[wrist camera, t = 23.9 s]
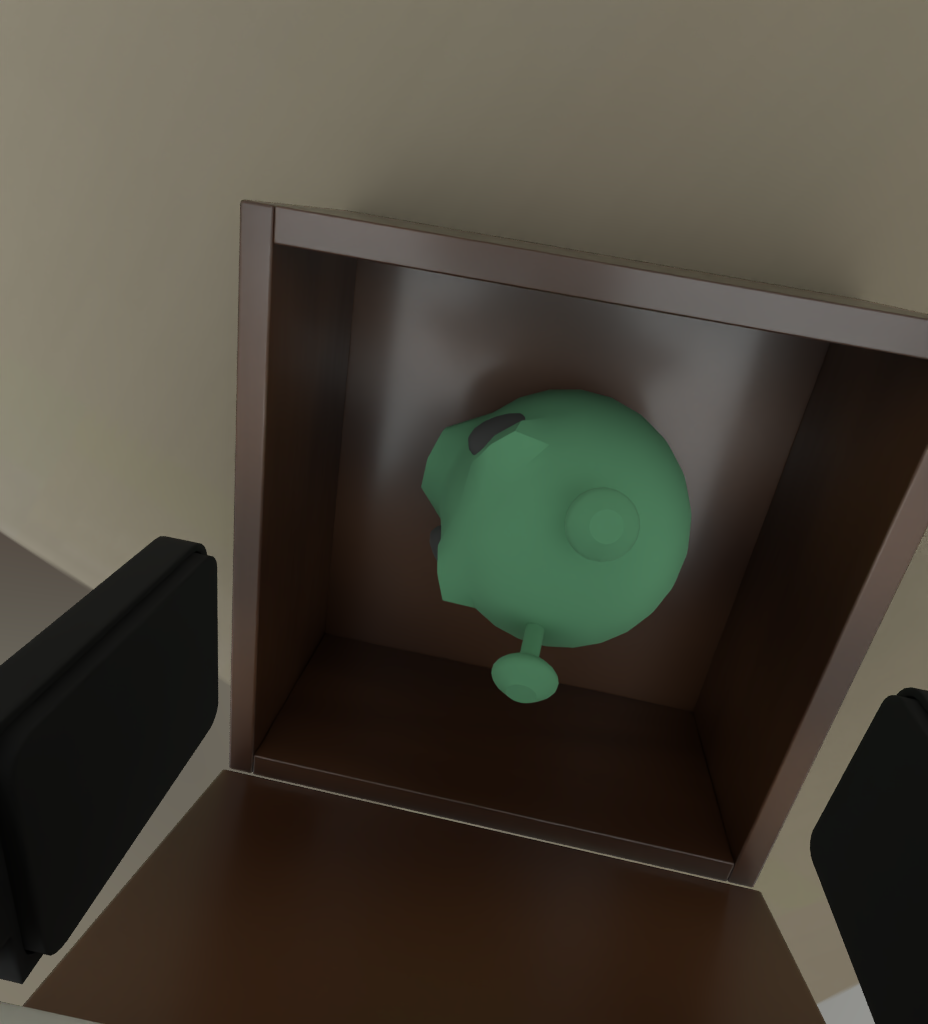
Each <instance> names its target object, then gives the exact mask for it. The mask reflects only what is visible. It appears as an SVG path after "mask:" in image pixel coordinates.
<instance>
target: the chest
mask: <svg viewBox="0 0 928 1024" xmlns="http://www.w3.org/2000/svg"><path fill="white" fill-rule="evenodd" d="M546 390H585V391H589V392H592V393H596V394H600V395H604V396H607V397H611V398H613V399H615V400H616V401H618V402H620V403H622V404H623V405H625V406H627V407H629V408H630V409H632V410H634V411H635V412H637V413H639V414H641V415H642V416H643V417H644V418H645V419H646V420H647V421H648V422H649V423H650V424H651V425H652V426H653V427H654V428H655V429H656V430H657V431H658V432H659V433H660V434H661V436H662V437H663V438H664V439H665V440H666V441H667V443H668V444H669V446H670V448H671V450H672V452H673V454H674V456H675V458H676V460H677V462H678V463H679V465H680V467H681V469H682V471H683V474H684V477H685V481H686V486H687V491H688V496H689V502H690V507H691V526H690V535H689V544H688V551H687V555H686V558H685V560H684V562H683V565H682V567H681V570H680V572H679V574H678V577H677V579H676V581H675V584H674V585H673V587H672V589H671V590H670V592H669V593H668V594H667V595H666V597H665V598H664V599H663V600H662V602H661V603H660V604H659V605H658V607H657V608H656V609H655V610H654V612H652V613H651V614H650V615H649V616H648V617H647V618H645V619H644V620H642V621H641V622H640V623H638V624H637V625H636V626H634V627H633V628H632V629H630V630H629V631H628V632H626V633H624V634H621V635H619V636H616V637H614V638H612V639H609V640H607V641H605V642H602V643H598V644H592V645H586V646H580V647H575V648H570V647H550V646H543V645H541V650H540V655H539V658H541V659H543V660H545V661H546V662H547V663H548V664H549V665H550V666H552V667H553V669H554V671H555V672H556V674H557V676H558V682H559V684H558V687H557V689H556V692H555V693H554V694H553V695H551V696H550V697H549V698H547V699H544V700H541V701H538V702H533V703H520V702H517V701H514V700H512V699H511V698H509V697H508V696H507V695H505V694H504V693H503V692H502V691H501V690H500V689H499V688H498V687H497V686H496V684H495V683H494V681H493V678H492V674H491V672H492V667H493V664H494V663H495V662H496V661H497V660H498V659H499V658H501V657H502V656H505V655H507V654H511V653H519V652H520V651H521V646H522V642H523V640H521V639H518V638H516V637H515V636H513V635H511V634H509V633H507V632H505V631H504V630H502V629H500V628H498V627H496V626H495V625H493V624H492V623H491V622H490V621H489V620H488V619H487V618H486V617H485V616H483V615H482V614H481V613H480V612H479V611H478V610H477V609H476V608H473V607H469V606H464V605H460V604H456V603H452V602H448V601H444V600H442V595H441V590H440V585H439V580H438V574H437V560H436V558H435V556H434V554H433V552H432V549H431V546H430V542H429V540H430V533H431V531H432V530H433V529H434V528H436V527H437V526H440V525H441V519H440V517H439V515H438V514H437V512H436V511H435V509H434V507H433V506H432V504H431V502H430V501H429V499H428V498H427V496H426V494H425V493H424V491H423V489H422V488H421V485H422V481H423V476H424V472H425V467H426V463H427V459H428V457H429V455H430V453H431V451H432V449H433V448H434V446H435V444H436V442H437V440H438V438H439V437H440V435H441V433H442V431H443V430H444V429H445V428H446V427H449V426H452V425H455V424H458V423H461V422H464V421H468V420H471V419H474V418H477V417H480V416H483V415H487V414H490V413H493V412H495V411H497V410H498V409H500V408H502V407H504V406H505V405H507V404H509V403H511V402H512V401H514V400H516V399H518V398H520V397H523V396H527V395H531V394H535V393H538V392H542V391H546ZM927 526H928V314H924V313H920V312H915V311H911V310H906V309H902V308H897V307H893V306H888V305H884V304H879V303H875V302H869V301H865V300H861V299H855V298H849V297H843V296H838V295H832V294H826V293H820V292H814V291H809V290H803V289H797V288H791V287H786V286H780V285H774V284H768V283H762V282H757V281H751V280H745V279H739V278H734V277H728V276H722V275H716V274H710V273H705V272H699V271H693V270H687V269H682V268H676V267H670V266H664V265H658V264H653V263H647V262H641V261H635V260H630V259H624V258H618V257H612V256H606V255H601V254H595V253H589V252H583V251H578V250H572V249H566V248H560V247H554V246H549V245H543V244H537V243H531V242H526V241H520V240H514V239H508V238H502V237H497V236H491V235H485V234H479V233H474V232H468V231H462V230H456V229H450V228H445V227H439V226H433V225H427V224H422V223H416V222H410V221H404V220H398V219H393V218H387V217H381V216H375V215H369V214H364V213H358V212H352V211H346V210H337V209H328V208H318V207H309V206H299V205H290V204H281V203H271V202H262V201H252V200H242V201H241V203H240V251H239V301H238V351H237V401H236V452H235V502H234V552H233V603H232V653H231V704H230V753H229V754H230V755H229V767H230V768H231V769H235V770H240V771H244V772H248V773H252V772H253V774H256V775H261V776H264V777H269V778H273V779H278V780H282V781H287V782H291V783H295V784H300V785H304V786H308V787H313V788H318V789H322V790H326V791H330V792H335V793H339V794H344V795H348V796H353V797H357V798H361V799H366V800H371V801H374V802H379V803H384V804H388V805H392V806H396V807H401V808H405V809H410V810H414V811H418V812H423V813H427V814H432V815H436V816H440V817H445V818H449V819H454V820H458V821H462V822H467V823H471V824H476V825H480V826H484V827H489V828H493V829H498V830H502V831H506V832H511V833H515V834H520V835H524V836H528V837H533V838H537V839H542V840H546V841H550V842H555V843H559V844H564V845H568V846H572V847H577V848H581V849H586V850H590V851H594V852H599V853H603V854H608V855H612V856H616V857H621V858H625V859H630V860H634V861H638V862H643V863H647V864H652V865H656V866H660V867H665V868H669V869H674V870H678V871H682V872H687V873H691V874H696V875H700V876H704V877H709V878H713V879H718V880H722V881H727V880H728V882H731V883H735V884H740V885H744V886H749V887H754V885H755V882H756V880H757V878H758V876H759V874H760V872H761V870H762V868H763V866H764V864H765V862H766V860H767V858H768V856H769V853H770V851H771V849H772V847H773V845H774V843H775V841H776V839H777V837H778V835H779V833H780V831H781V829H782V827H783V824H784V822H785V820H786V818H787V816H788V814H789V812H790V810H791V808H792V806H793V804H794V802H795V800H796V798H797V795H798V793H799V791H800V789H801V787H802V785H803V783H804V781H805V779H806V777H807V775H808V773H809V771H810V769H811V766H812V764H813V762H814V760H815V758H816V756H817V754H818V752H819V750H820V748H821V746H822V744H823V742H824V740H825V737H826V735H827V733H828V731H829V729H830V727H831V725H832V723H833V721H834V719H835V717H836V715H837V713H838V711H839V708H840V706H841V704H842V702H843V700H844V698H845V696H846V694H847V692H848V690H849V688H850V686H851V684H852V682H853V679H854V677H855V675H856V673H857V671H858V669H859V667H860V665H861V663H862V661H863V659H864V657H865V655H866V653H867V650H868V648H869V646H870V644H871V642H872V640H873V638H874V636H875V634H876V632H877V630H878V628H879V626H880V624H881V621H882V619H883V617H884V615H885V613H886V611H887V609H888V607H889V605H890V603H891V601H892V599H893V597H894V595H895V592H896V590H897V588H898V586H899V584H900V582H901V580H902V578H903V576H904V574H905V572H906V570H907V568H908V566H909V563H910V561H911V559H912V557H913V555H914V553H915V551H916V549H917V547H918V545H919V543H920V541H921V539H922V537H923V534H924V532H925V530H926V528H927Z"/></svg>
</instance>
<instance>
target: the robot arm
mask: <svg viewBox="0 0 928 1024" xmlns="http://www.w3.org/2000/svg"><path fill="white" fill-rule="evenodd" d="M217 707H218V618H217V562H216V560H215V558H214V557H213V556H208V555H207V552H206V549H205V547H204V546H203V545H202V544H200V543H195V542H190V541H186V540H181V539H176V538H171V537H166V536H160V537H158V538H157V539H155V540H154V541H152V542H151V543H150V544H149V545H148V546H146V547H145V548H144V549H143V550H141V551H140V552H139V553H138V554H137V555H135V556H134V557H133V558H132V559H130V560H129V561H128V562H127V563H126V564H124V565H123V566H122V567H121V568H119V569H118V570H117V571H116V572H114V573H113V574H112V575H111V576H110V577H108V578H107V579H106V580H105V581H103V582H102V583H101V584H100V585H99V586H97V587H96V588H95V589H94V590H92V591H91V592H90V593H89V594H88V595H86V596H85V597H84V598H83V599H81V600H80V601H79V602H78V603H76V604H75V605H74V606H73V607H72V608H70V609H69V610H68V611H67V612H65V613H64V614H63V615H62V616H61V617H59V618H58V619H57V620H56V621H55V622H53V623H52V624H51V625H50V626H48V627H47V628H46V629H45V630H43V631H42V632H41V633H40V634H39V635H37V636H36V637H35V638H34V639H32V640H31V641H30V642H29V643H28V644H26V645H25V646H24V647H23V648H21V649H20V650H19V651H18V652H16V653H15V654H14V655H13V656H12V657H10V658H9V659H8V660H7V661H6V662H4V663H3V664H2V665H0V979H3V980H8V981H12V982H16V983H20V984H23V982H24V981H25V980H26V978H27V977H28V975H29V974H30V972H31V971H32V969H33V968H34V967H35V965H36V964H37V962H38V961H39V959H40V958H41V957H42V955H43V954H46V955H53V954H55V953H56V952H57V951H58V950H59V949H60V948H62V946H63V945H64V944H65V942H66V941H67V940H68V938H69V937H70V936H71V934H72V932H73V931H74V930H75V928H76V927H77V925H78V924H79V922H80V921H81V919H82V918H83V916H84V915H85V913H86V912H87V910H88V909H89V907H90V906H91V904H92V903H93V901H94V900H95V898H96V897H97V895H98V894H99V892H100V891H101V890H102V888H103V887H104V885H105V884H106V882H107V880H108V879H109V878H110V876H111V875H112V873H113V872H114V870H115V869H116V867H117V866H118V864H119V863H120V861H121V860H122V858H123V857H124V855H125V854H126V852H127V851H128V850H129V848H130V847H131V845H132V844H133V842H134V841H135V839H136V838H137V836H138V834H139V833H140V832H141V830H142V829H143V827H144V826H145V824H146V823H147V821H148V820H149V818H150V817H151V815H152V814H153V812H154V811H155V809H156V808H157V807H158V805H159V804H160V802H161V801H162V799H163V798H164V796H165V794H166V793H167V792H168V790H169V789H170V787H171V786H172V784H173V783H174V781H175V780H176V778H177V777H178V775H179V774H180V772H181V771H182V769H183V768H184V766H185V765H186V764H187V762H188V761H189V759H190V758H191V756H192V755H193V753H194V752H195V750H196V749H197V747H198V746H199V744H200V743H201V741H202V740H203V738H204V737H205V735H206V734H207V732H208V731H209V729H210V728H211V726H212V724H213V721H214V719H215V715H216V712H217ZM810 852H811V857H812V861H813V864H814V866H815V869H816V872H817V874H818V877H819V879H820V882H821V884H822V887H823V890H824V892H825V895H826V897H827V900H828V903H829V905H830V908H831V910H832V913H833V916H834V918H835V921H836V923H837V926H838V929H839V931H840V934H841V936H842V939H843V942H844V944H845V947H846V949H847V952H848V954H849V957H850V960H851V962H852V965H853V967H854V970H855V973H856V975H857V978H858V980H859V983H860V986H861V988H862V991H863V993H864V996H865V998H866V1001H867V1004H868V1006H869V1009H870V1011H871V1014H872V1016H873V1019H874V1022H875V1024H928V691H926V690H921V689H916V688H911V687H910V688H904V689H903V690H901V691H900V692H899V693H898V694H897V695H891V696H888V697H887V698H885V700H884V701H883V703H882V704H881V706H880V708H879V710H878V711H877V713H876V715H875V717H874V719H873V721H872V722H871V724H870V726H869V728H868V730H867V732H866V734H865V735H864V737H863V739H862V741H861V743H860V745H859V746H858V748H857V750H856V752H855V754H854V756H853V758H852V759H851V761H850V763H849V765H848V767H847V769H846V770H845V772H844V774H843V776H842V778H841V780H840V782H839V783H838V785H837V787H836V789H835V791H834V793H833V794H832V796H831V798H830V800H829V802H828V804H827V806H826V807H825V809H824V811H823V813H822V815H821V817H820V818H819V820H818V822H817V824H816V826H815V828H814V830H813V832H812V835H811V840H810ZM0 1024H101V1023H97V1022H92V1021H88V1020H83V1019H78V1018H74V1017H69V1016H65V1015H60V1014H56V1013H51V1012H46V1011H42V1010H37V1009H33V1008H28V1007H23V1006H19V1005H14V1004H9V1003H5V1002H0Z"/></svg>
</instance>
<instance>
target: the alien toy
mask: <svg viewBox="0 0 928 1024" xmlns="http://www.w3.org/2000/svg"><path fill="white" fill-rule="evenodd" d="M421 488H422V489H423V491H424V493H425V494H426V496H427V498H428V499H429V501H430V502H431V504H432V506H433V507H434V509H435V511H436V512H437V514H438V515H439V517H440V519H441V525H440V526H437V527H436V528H434V529H433V530H432V531H431V533H430V540H429V542H430V546H431V549H432V552H433V554H434V556H435V558H436V560H437V574H438V580H439V585H440V590H441V595H442V600H444V601H448V602H452V603H456V604H460V605H464V606H469V607H473V608H476V609H477V610H478V611H479V612H480V613H481V614H482V615H483V616H485V617H486V618H487V619H488V620H489V621H490V622H491V623H492V624H493V625H495V626H496V627H498V628H500V629H502V630H504V631H505V632H507V633H509V634H511V635H513V636H515V637H516V638H518V639H521V640H523V642H522V646H521V651H520V652H519V653H511V654H507V655H505V656H502V657H501V658H499V659H498V660H497V661H496V662H495V663H494V664H493V667H492V672H491V674H492V678H493V681H494V683H495V684H496V686H497V687H498V688H499V689H500V690H501V691H502V692H503V693H504V694H505V695H507V696H508V697H509V698H511V699H512V700H514V701H517V702H520V703H533V702H538V701H541V700H544V699H547V698H549V697H550V696H551V695H553V694H554V693H555V692H556V689H557V687H558V684H559V682H558V676H557V674H556V672H555V671H554V669H553V667H552V666H550V665H549V664H548V663H547V662H546V661H545V660H543V659H541V658H539V655H540V650H541V645H543V646H550V647H570V648H575V647H580V646H586V645H592V644H598V643H602V642H605V641H607V640H609V639H612V638H614V637H616V636H619V635H621V634H624V633H626V632H628V631H629V630H630V629H632V628H633V627H634V626H636V625H637V624H638V623H640V622H641V621H642V620H644V619H645V618H647V617H648V616H649V615H650V614H651V613H652V612H654V610H655V609H656V608H657V607H658V605H659V604H660V603H661V602H662V600H663V599H664V598H665V597H666V595H667V594H668V593H669V592H670V590H671V589H672V587H673V585H674V584H675V581H676V579H677V577H678V574H679V572H680V570H681V567H682V565H683V562H684V560H685V558H686V555H687V551H688V544H689V535H690V526H691V507H690V502H689V496H688V491H687V486H686V481H685V477H684V474H683V471H682V469H681V467H680V465H679V463H678V462H677V460H676V458H675V456H674V454H673V452H672V450H671V448H670V446H669V444H668V443H667V441H666V440H665V439H664V438H663V437H662V436H661V434H660V433H659V432H658V431H657V430H656V429H655V428H654V427H653V426H652V425H651V424H650V423H649V422H648V421H647V420H646V419H645V418H644V417H643V416H642V415H641V414H639V413H637V412H635V411H634V410H632V409H630V408H629V407H627V406H625V405H623V404H622V403H620V402H618V401H616V400H615V399H613V398H611V397H607V396H604V395H600V394H596V393H592V392H589V391H585V390H546V391H542V392H538V393H535V394H531V395H527V396H523V397H520V398H518V399H516V400H514V401H512V402H511V403H509V404H507V405H505V406H504V407H502V408H500V409H498V410H497V411H495V412H493V413H490V414H487V415H483V416H480V417H477V418H474V419H471V420H468V421H464V422H461V423H458V424H455V425H452V426H449V427H446V428H445V429H444V430H443V431H442V433H441V435H440V437H439V438H438V440H437V442H436V444H435V446H434V448H433V449H432V451H431V453H430V455H429V457H428V459H427V463H426V467H425V472H424V476H423V481H422V485H421Z"/></svg>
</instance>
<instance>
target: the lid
mask: <svg viewBox="0 0 928 1024" xmlns="http://www.w3.org/2000/svg"><path fill="white" fill-rule="evenodd" d="M23 1007H28V1008H33V1009H37V1010H42V1011H46V1012H51V1013H56V1014H60V1015H65V1016H69V1017H74V1018H78V1019H83V1020H88V1021H92V1022H97V1023H101V1024H826V1023H825V1021H824V1019H823V1017H822V1015H821V1013H820V1011H819V1009H818V1007H817V1005H816V1003H815V1001H814V999H813V997H812V995H811V992H810V990H809V988H808V986H807V984H806V982H805V980H804V978H803V976H802V974H801V972H800V970H799V968H798V966H797V964H796V962H795V960H794V958H793V956H792V954H791V952H790V950H789V948H788V946H787V944H786V942H785V940H784V938H783V936H782V934H781V932H780V930H779V928H778V926H777V924H776V922H775V920H774V918H773V916H772V914H771V912H770V910H769V908H768V906H767V904H766V902H765V900H764V898H763V896H762V894H761V892H759V891H756V890H752V889H748V888H743V887H739V886H734V885H730V884H726V883H721V882H717V881H712V880H708V879H704V878H699V877H695V876H690V875H686V874H682V873H677V872H673V871H668V870H664V869H660V868H655V867H651V866H646V865H642V864H638V863H633V862H629V861H624V860H620V859H616V858H611V857H607V856H602V855H598V854H594V853H589V852H585V851H581V850H576V849H572V848H567V847H563V846H559V845H554V844H550V843H545V842H541V841H537V840H532V839H528V838H523V837H519V836H515V835H510V834H506V833H501V832H497V831H493V830H488V829H484V828H479V827H475V826H471V825H466V824H462V823H457V822H453V821H449V820H444V819H440V818H435V817H431V816H427V815H422V814H418V813H413V812H409V811H405V810H400V809H396V808H391V807H387V806H383V805H378V804H373V803H369V802H365V801H361V800H356V799H352V798H347V797H343V796H338V795H334V794H330V793H325V792H321V791H316V790H312V789H308V788H304V787H299V786H295V785H290V784H286V783H282V782H277V781H273V780H268V779H264V778H260V777H255V776H251V775H246V774H242V773H238V772H233V771H229V770H222V772H221V773H220V774H219V775H218V776H217V778H216V779H215V780H214V781H213V782H212V783H211V785H210V786H209V787H208V788H207V789H206V791H205V792H204V793H203V794H202V795H201V796H200V797H199V799H198V800H197V801H196V802H195V803H194V805H193V806H192V807H191V808H190V809H189V810H188V812H187V813H186V814H185V815H184V816H183V818H182V819H181V820H180V821H179V822H178V823H177V825H176V826H175V827H174V828H173V829H172V830H171V832H170V833H169V834H168V835H167V836H166V838H165V839H164V840H163V841H162V842H161V843H160V845H159V846H158V847H157V848H156V849H155V851H154V852H153V853H152V854H151V855H150V856H149V858H148V859H147V860H146V861H145V862H144V863H143V865H142V866H141V867H140V868H139V869H138V871H137V872H136V873H135V874H134V875H133V876H132V878H131V879H130V880H129V881H128V882H127V883H126V885H125V886H124V887H123V888H122V889H121V891H120V892H119V893H118V894H117V895H116V896H115V898H114V899H113V900H112V901H111V902H110V903H109V905H108V906H107V907H106V908H105V909H104V911H103V912H102V913H101V914H100V915H99V916H98V918H97V919H96V920H95V921H94V922H93V924H92V925H91V926H90V927H89V928H88V930H87V931H86V932H85V933H84V934H83V935H82V937H81V938H80V939H79V940H78V941H77V942H76V944H75V945H74V946H73V947H72V948H71V949H70V951H69V952H68V953H67V954H66V955H65V956H64V958H63V959H62V960H61V961H60V963H59V964H58V965H57V966H56V967H55V968H54V969H53V971H52V972H51V973H50V974H49V976H48V977H47V978H46V979H45V980H44V981H43V982H42V984H41V985H40V986H39V987H38V988H37V989H36V991H35V992H34V993H33V994H32V995H31V997H30V998H29V999H28V1000H27V1001H26V1003H25V1004H24V1005H23Z"/></svg>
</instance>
